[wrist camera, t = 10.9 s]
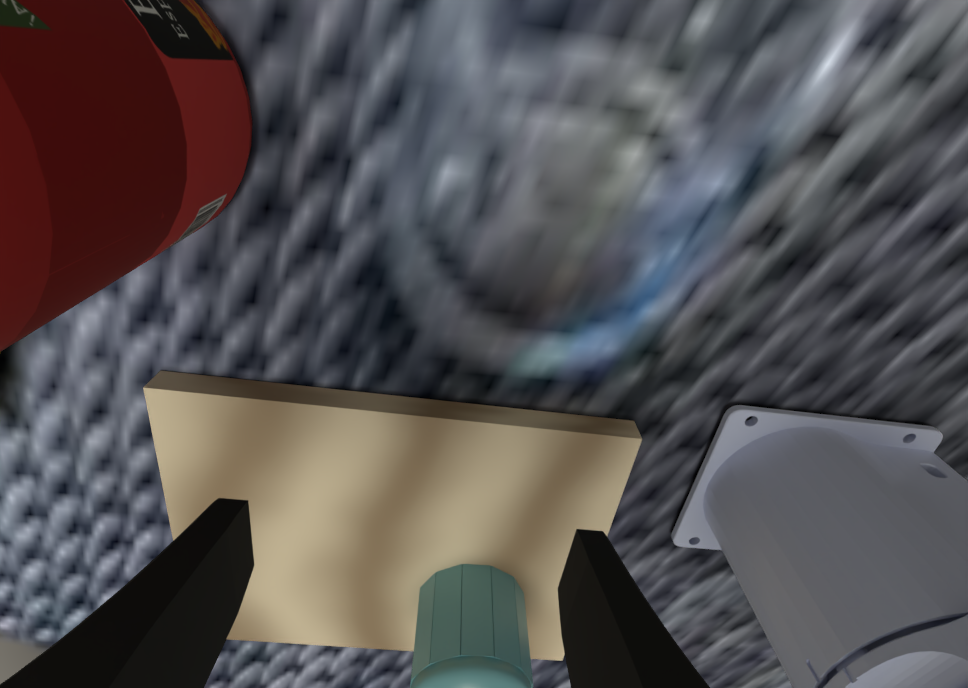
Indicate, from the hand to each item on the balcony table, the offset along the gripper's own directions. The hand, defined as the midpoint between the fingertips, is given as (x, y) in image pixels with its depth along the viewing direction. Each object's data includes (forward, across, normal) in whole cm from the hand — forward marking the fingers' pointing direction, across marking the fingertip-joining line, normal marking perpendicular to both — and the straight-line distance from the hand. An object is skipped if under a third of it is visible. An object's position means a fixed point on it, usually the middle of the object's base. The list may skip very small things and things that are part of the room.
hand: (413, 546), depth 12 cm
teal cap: (+8, -3, +13) cm, 16 cm away
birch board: (+9, +1, +10) cm, 14 cm away
